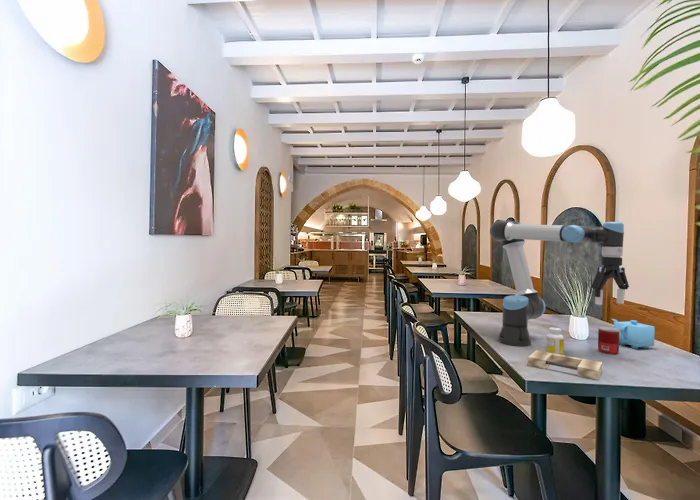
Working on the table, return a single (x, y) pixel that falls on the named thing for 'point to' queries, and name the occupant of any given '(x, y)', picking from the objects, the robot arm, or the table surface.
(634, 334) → the teapot
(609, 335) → the canned food
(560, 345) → the supplement bottle
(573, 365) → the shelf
